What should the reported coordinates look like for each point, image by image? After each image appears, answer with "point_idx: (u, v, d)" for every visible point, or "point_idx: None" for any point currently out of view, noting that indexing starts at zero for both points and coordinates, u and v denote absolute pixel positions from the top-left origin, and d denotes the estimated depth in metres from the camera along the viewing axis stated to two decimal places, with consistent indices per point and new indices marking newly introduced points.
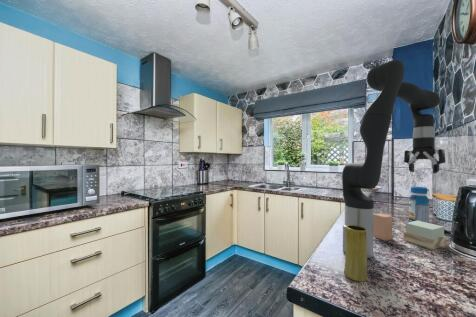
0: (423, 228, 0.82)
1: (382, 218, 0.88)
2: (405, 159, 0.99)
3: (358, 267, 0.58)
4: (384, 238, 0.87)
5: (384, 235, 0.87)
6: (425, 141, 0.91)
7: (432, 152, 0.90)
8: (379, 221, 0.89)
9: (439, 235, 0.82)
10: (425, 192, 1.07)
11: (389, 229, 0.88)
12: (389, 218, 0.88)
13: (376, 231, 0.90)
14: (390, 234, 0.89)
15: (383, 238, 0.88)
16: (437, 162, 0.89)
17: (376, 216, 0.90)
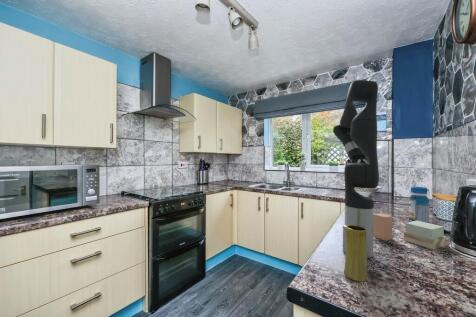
0: (423, 228, 0.82)
1: (382, 218, 0.88)
2: None
3: (358, 267, 0.58)
4: (384, 238, 0.87)
5: (384, 235, 0.87)
6: None
7: (367, 160, 1.06)
8: (379, 221, 0.89)
9: (439, 235, 0.82)
10: (425, 192, 1.07)
11: (389, 229, 0.88)
12: (389, 218, 0.88)
13: (376, 231, 0.90)
14: (390, 234, 0.89)
15: (383, 238, 0.88)
16: None
17: (376, 216, 0.90)
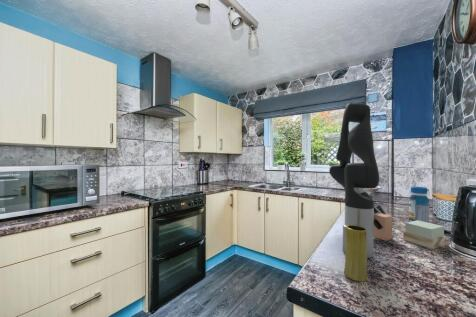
0: (422, 228, 0.82)
1: (382, 218, 0.88)
2: None
3: (358, 267, 0.58)
4: (384, 238, 0.87)
5: (384, 235, 0.87)
6: None
7: (376, 207, 0.96)
8: (379, 221, 0.89)
9: (439, 235, 0.82)
10: (425, 192, 1.07)
11: (389, 229, 0.88)
12: (389, 218, 0.88)
13: (376, 231, 0.90)
14: (390, 234, 0.88)
15: (383, 238, 0.88)
16: None
17: (376, 216, 0.90)
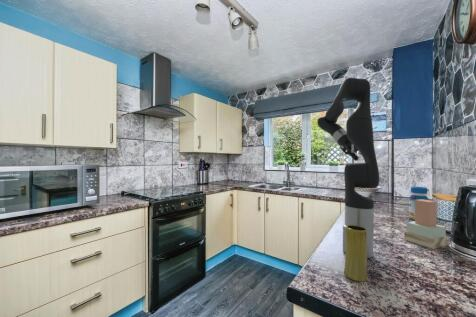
0: (423, 227, 0.83)
1: (426, 203, 0.84)
2: (348, 149, 1.02)
3: (358, 267, 0.58)
4: (428, 224, 0.83)
5: (428, 221, 0.83)
6: None
7: None
8: (422, 207, 0.85)
9: (440, 235, 0.82)
10: (425, 192, 1.07)
11: (433, 214, 0.84)
12: (433, 203, 0.84)
13: (418, 217, 0.86)
14: (434, 220, 0.84)
15: (427, 224, 0.83)
16: None
17: (418, 201, 0.86)
